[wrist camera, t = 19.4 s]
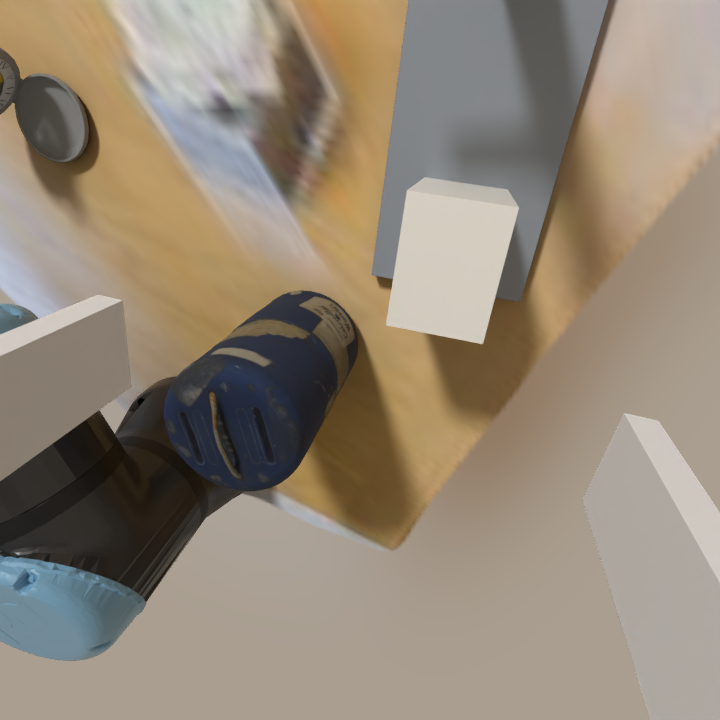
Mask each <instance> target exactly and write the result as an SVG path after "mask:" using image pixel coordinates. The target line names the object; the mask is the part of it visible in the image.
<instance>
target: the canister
mask: <svg viewBox="0 0 720 720" xmlns="http://www.w3.org/2000/svg"><path fill="white" fill-rule="evenodd" d="M357 352H358V338H357V332H356V329H355V326H354V323H353V321H352V320H351V318H350V316H349V315H348V314H347V312H346V311H345V310H344V309H343V308H342V307H341V306H340V305H339V304H338V303H336V302H335V301H334V300H332V299H330V298H329V297H327V296H324V295H322V294H319V293H316V292H311V291H294V292H290V293H286V294H284V295H282V296H280V297H278V298H276V299H275V300H273V301H272V302H271V303H270V304H269V305H267V306H266V307H264V308H263V309H261V310H260V311H258V312H257V313H255V314H254V315H253V316H251V317H250V318H249V319H247V320H246V321H245V322H244V323H242V324H241V325H240V326H238V327H237V328H236V329H235V330H234V331H233V332H232V333H231V334H230V335H229V336H228V337H226V338H225V339H224V340H222V341H221V342H220V343H218V344H217V345H216V346H214V347H213V348H212V349H211V350H210V351H208V352H207V353H206V354H204V355H203V356H202V357H201V358H199V359H198V360H196V361H195V362H193V363H192V364H191V365H189V366H188V367H187V368H185V369H184V370H183V371H182V372H181V373H180V374H179V375H178V376H177V378H176V379H175V380H174V381H173V383H172V385H171V386H170V388H169V390H168V393H167V396H166V399H165V405H164V420H165V425H166V429H167V433H168V435H169V438H170V440H171V442H172V444H173V445H174V447H175V449H176V450H177V452H178V453H179V455H180V456H181V457H182V458H183V460H184V461H185V462H186V463H187V464H188V465H189V466H190V467H191V468H192V469H194V470H195V471H196V472H197V473H198V474H200V475H201V476H203V477H204V478H206V479H208V480H210V481H212V482H213V483H215V484H218V485H220V486H223V487H226V488H230V489H234V490H240V491H258V490H263V489H267V488H270V487H273V486H275V485H278V484H280V483H281V482H283V481H284V480H286V479H287V478H288V477H289V476H290V475H291V474H292V473H293V472H294V471H295V470H296V469H297V468H298V466H299V465H300V463H301V461H302V460H303V458H304V456H305V455H306V453H307V451H308V449H309V448H310V446H311V444H312V442H313V440H314V438H315V436H316V434H317V432H318V431H319V429H320V427H321V425H322V423H323V421H324V420H325V418H326V416H327V414H328V413H329V411H330V409H331V407H332V405H333V403H334V401H335V398H336V397H337V395H338V393H339V391H340V389H341V387H342V386H343V384H344V382H345V380H346V378H347V376H348V374H349V372H350V371H351V369H352V367H353V365H354V363H355V360H356V357H357Z"/></svg>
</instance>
